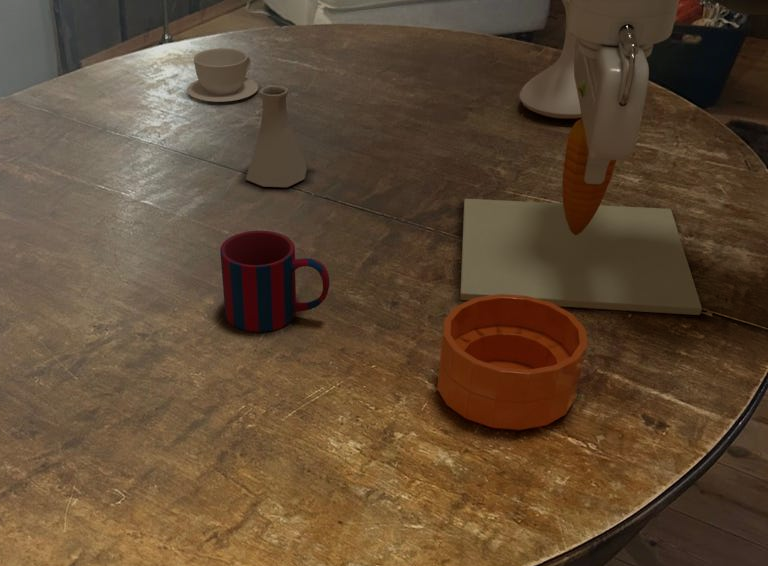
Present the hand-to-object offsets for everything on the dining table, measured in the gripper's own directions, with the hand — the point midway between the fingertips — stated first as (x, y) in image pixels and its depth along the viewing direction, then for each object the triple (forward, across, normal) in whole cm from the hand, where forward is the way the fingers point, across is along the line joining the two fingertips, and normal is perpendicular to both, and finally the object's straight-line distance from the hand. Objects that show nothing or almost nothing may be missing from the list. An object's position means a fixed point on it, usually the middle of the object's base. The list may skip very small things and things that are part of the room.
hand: (589, 166), depth 88 cm
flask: (+10, +15, +33) cm, 38 cm away
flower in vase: (+10, +38, -1) cm, 39 cm away
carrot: (+7, 0, 0) cm, 7 cm away
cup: (+10, -15, +28) cm, 33 cm away
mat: (+9, 0, 0) cm, 9 cm away
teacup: (+10, +41, +45) cm, 62 cm away
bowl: (+9, -24, +7) cm, 27 cm away
